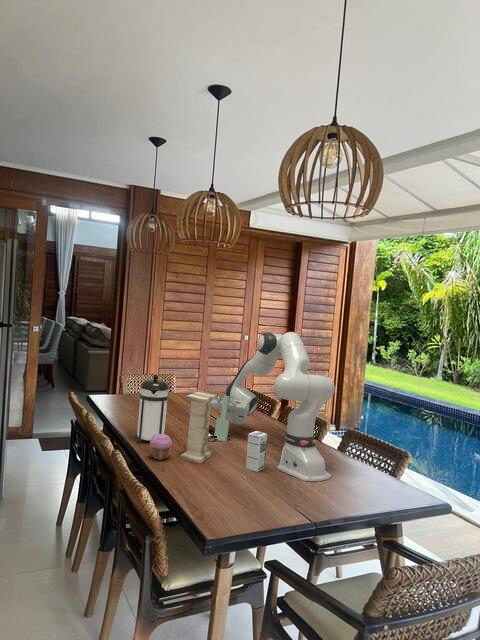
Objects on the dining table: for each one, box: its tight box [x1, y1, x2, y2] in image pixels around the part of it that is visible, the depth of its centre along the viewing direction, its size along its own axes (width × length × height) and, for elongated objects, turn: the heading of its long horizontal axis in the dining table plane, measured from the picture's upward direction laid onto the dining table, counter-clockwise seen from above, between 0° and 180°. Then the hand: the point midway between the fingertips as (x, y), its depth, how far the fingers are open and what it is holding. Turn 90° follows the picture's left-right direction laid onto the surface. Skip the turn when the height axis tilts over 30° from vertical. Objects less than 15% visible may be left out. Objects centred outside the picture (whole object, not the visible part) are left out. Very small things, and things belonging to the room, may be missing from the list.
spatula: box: [213, 395, 231, 443], centre depth 230 cm, size 21×6×2 cm
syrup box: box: [245, 430, 268, 473], centre depth 195 cm, size 6×6×14 cm
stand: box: [179, 390, 219, 464], centre depth 202 cm, size 13×9×26 cm
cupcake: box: [149, 433, 173, 461], centre depth 196 cm, size 9×9×10 cm
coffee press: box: [135, 374, 170, 444], centre depth 219 cm, size 17×16×30 cm
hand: (224, 398), depth 228 cm, fingers open, 4 cm apart
